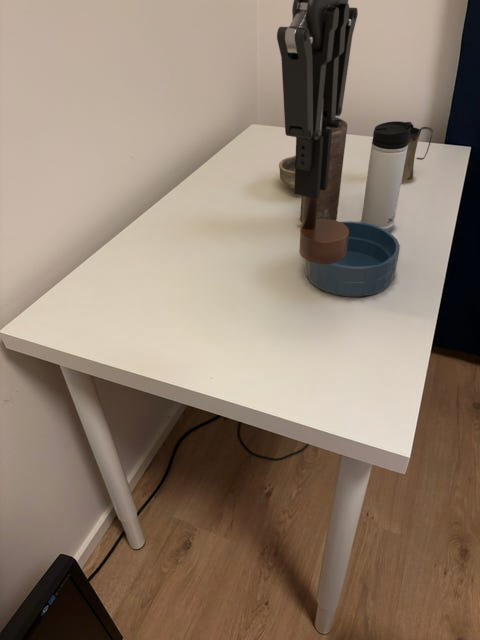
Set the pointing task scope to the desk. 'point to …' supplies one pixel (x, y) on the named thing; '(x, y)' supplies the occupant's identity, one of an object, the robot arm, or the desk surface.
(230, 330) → the desk surface
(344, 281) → the mixing bowl
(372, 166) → the travel mug
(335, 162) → the brown cylinder
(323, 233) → the ladle
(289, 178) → the bowl
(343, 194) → the desk surface
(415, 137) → the mug
